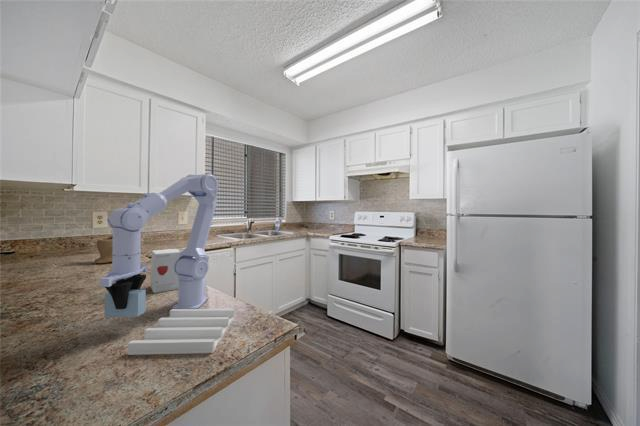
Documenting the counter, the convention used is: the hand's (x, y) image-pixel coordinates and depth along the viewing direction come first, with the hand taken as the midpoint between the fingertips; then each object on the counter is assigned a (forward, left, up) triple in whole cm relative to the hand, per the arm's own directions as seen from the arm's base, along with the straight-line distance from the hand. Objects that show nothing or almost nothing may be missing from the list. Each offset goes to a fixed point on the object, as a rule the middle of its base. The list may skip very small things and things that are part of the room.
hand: (126, 305), depth 63 cm
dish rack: (+2, +17, -6) cm, 18 cm away
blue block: (0, 0, -2) cm, 2 cm away
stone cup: (-80, -61, -7) cm, 101 cm away
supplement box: (-34, -8, -7) cm, 35 cm away
